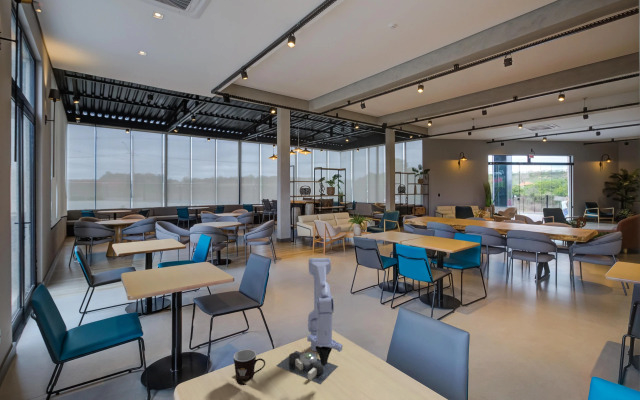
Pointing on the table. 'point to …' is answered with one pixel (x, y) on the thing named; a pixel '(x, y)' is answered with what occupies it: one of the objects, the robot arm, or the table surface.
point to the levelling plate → (305, 372)
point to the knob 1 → (295, 360)
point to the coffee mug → (245, 365)
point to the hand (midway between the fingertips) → (324, 364)
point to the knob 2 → (315, 370)
